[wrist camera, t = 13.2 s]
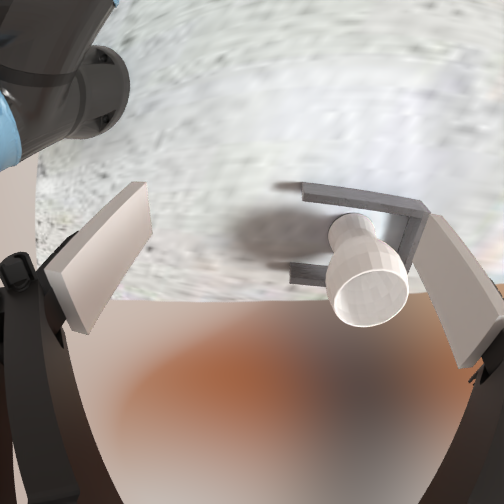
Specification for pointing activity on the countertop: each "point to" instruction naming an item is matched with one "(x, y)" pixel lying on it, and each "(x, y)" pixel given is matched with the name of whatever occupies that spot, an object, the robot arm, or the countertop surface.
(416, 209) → the channel
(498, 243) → the countertop surface
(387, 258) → the cup
